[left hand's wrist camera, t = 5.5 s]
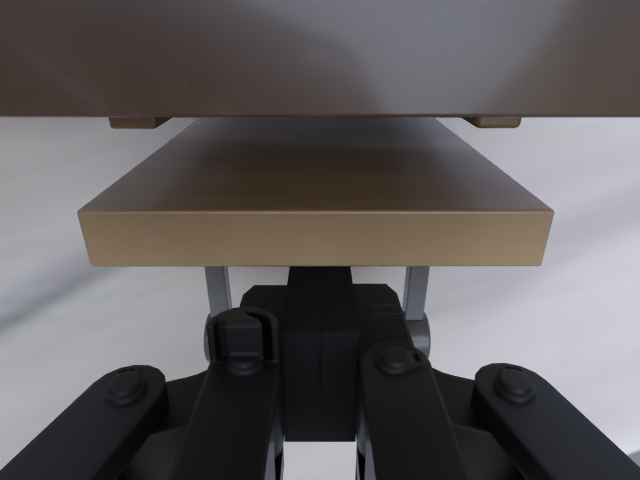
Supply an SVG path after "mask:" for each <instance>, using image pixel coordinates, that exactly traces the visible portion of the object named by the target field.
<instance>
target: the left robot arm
mask: <svg viewBox="0 0 640 480" xmlns="http://www.w3.org/2000/svg"><path fill="white" fill-rule="evenodd" d="M206 329H207V338H208V347H209V356H210V364H209V367H208V370H206V371H204V372H201V373H199V374H197V375H193V376H190V377H187V378H182V379H178V380H173V381H168V382H166V380H165V376H164V374H163V373H162V372H161V371H160V370H159V369H157V368H154V367H151V366H149V365H133V366H128V367H123V368H119V369H117V370H115V371H112V372H110V373H108V374H105V375H104V376H103V377H101V378H100V379H98V380H97V381H96V382H94V383H93V384H92V385H91V386H90V387H89V388H88V389H87V390H86V391H85V392H83V393H82V394H81V395H80V396H79V397H78V398H77V399H76V400H75V401H74V402H73V403H72V404H71V405H70V406H69V407H67V408H66V409H65V410H64V411H63V412H62V413H61V414H60V415H59V416H58V417H57V418H56V419H55V420H54V421H53V422H51V423H50V424H49V425H48V426H47V427H46V428H45V429H44V430H43V431H42V432H41V433H40V434H39V435H38V436H37V437H35V438H34V439H33V440H32V441H31V442H30V443H29V444H28V445H27V446H26V447H25V448H24V449H23V450H22V451H21V452H19V453H18V454H17V455H16V456H15V457H14V458H13V459H12V460H11V461H10V462H9V463H8V464H7V465H6V466H5V467H4V468H2V469H1V470H0V480H283V469H284V453H283V442H284V440H285V442H355V440H356V439H357V453H356V477H355V480H640V467H639V466H638V465H637V464H636V463H634V462H633V461H632V460H631V459H630V458H629V457H628V456H627V455H626V454H625V453H624V452H623V451H622V450H620V449H619V448H618V447H617V446H616V445H615V444H614V443H613V442H612V441H611V440H610V439H609V438H608V437H606V436H605V435H604V434H603V433H602V432H601V431H600V430H599V429H598V428H597V427H596V426H595V425H594V424H593V423H591V422H590V421H589V420H588V419H587V418H586V417H585V416H584V415H583V414H582V413H581V412H580V411H579V410H577V409H576V408H575V407H574V406H573V405H572V404H571V403H570V402H569V401H568V400H567V399H566V398H565V397H563V396H562V395H561V394H560V393H559V392H558V391H557V390H556V389H555V388H554V387H553V386H552V385H551V384H550V383H548V382H547V381H546V380H545V379H543V378H542V377H541V376H539V375H538V374H536V373H535V372H533V371H530V370H528V369H526V368H523V367H521V366H517V365H512V364H507V363H492V364H489V365H486V366H483V367H481V368H480V370H479V371H478V372H477V373H476V374H475V380H471V379H466V378H462V377H457V376H453V375H449V374H446V373H443V372H440V371H438V370H436V369H434V368H432V366H431V364H430V361H429V360H428V358H427V357H426V355H425V354H424V353H423V352H421V351H420V350H418V349H417V348H416V347H415V346H414V343H413V340H412V337H411V334H410V332H409V329H408V326H407V323H406V320H405V317H404V316H403V311H402V308H401V306H400V302H399V299H398V296H397V293H396V292H395V291H393V290H392V289H391V288H390V287H389V286H388V285H387V284H353V283H352V276H351V269H350V266H290V269H289V276H288V283H287V285H254V286H253V287H252V288H251V289H249V290H248V291H247V292H246V293H245V294H244V295H243V297H242V300H241V303H240V307H238V308H232V309H229V310H226V311H223V312H221V313H219V314H217V315H216V316H214V317H212V318H211V320H210V321H209V322H208V323H207V325H206Z"/></svg>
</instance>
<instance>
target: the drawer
mask: <svg viewBox="0 0 640 480" xmlns="http://www.w3.org/2000/svg"><path fill="white" fill-rule="evenodd" d="M171 118H173V117H109V121H110V126H111V128H114V129H154V128H156V127H158V126H159V125H161V124H163V123H164V122H166V121H168V120H169V119H171ZM461 118H463V119H464V120H466V121H468V122H469V123H471V124H472V125H474V126H476V127H478V128H516V127H519V125H520V122H521V117H461ZM77 214H78V218H79V222H80V226H81V229H82V233H83V237H84V241H85V244H86V248H87V252H88V256H89V260H90V263H91V265H92V266H205V274H206V282H207V289H208V297H209V304H210V313H209V315H208V317H207V320H206V324H205V331H204V352H205V357H206V360H207V361H208V362H210V356H209V347H208V338H207V329H206V325H207V323H208V322H209V321H210V320H211V318H212V317H214V316H216V315H217V314H219V313H221V312H223V311H226V310H229V309H232V303H231V293H230V284H229V275H228V266H407V267H406V277H405V287H404V297H403V307H402V311H403V316H404V317H405V320H406V323H407V326H408V329H409V332H410V334H411V337H412V340H413V343H414V346H415V347H416V348H417V349H418V350H420V351H421V352H423V353H424V354H425V355H426V357H427V358H429V354H430V328H429V322H428V319H427V316H426V314H425V312H424V307H425V299H426V291H427V283H428V275H429V267H430V266H540V265H541V263H542V259H543V255H544V251H545V247H546V243H547V239H548V235H549V231H550V227H551V223H552V220H553V216H554V211H553V210H552V209H551V208H550V207H549V206H547V205H546V204H545V203H543V202H542V201H541V200H540V199H538V198H537V197H536V196H534V195H533V194H532V193H531V192H529V191H528V190H527V189H525V188H524V187H523V186H521V185H520V184H519V183H518V182H516V181H515V180H514V179H512V178H511V177H510V176H509V175H507V174H506V173H505V172H503V171H502V170H501V169H500V168H498V167H497V166H496V165H494V164H493V163H492V162H491V161H489V160H488V159H487V158H485V157H484V156H483V155H481V154H480V153H479V152H478V151H476V150H475V149H474V148H472V147H471V146H470V145H469V144H467V143H466V142H465V141H463V140H462V139H461V138H460V137H458V136H457V135H456V134H454V133H453V132H452V131H451V130H449V129H448V128H447V127H445V126H444V125H443V124H442V123H440V122H439V121H438V120H436V119H435V118H434V117H201V118H199V119H198V120H197V121H195V122H194V123H193V124H191V125H190V126H189V127H187V128H186V129H185V130H183V131H182V132H181V133H180V134H178V135H177V136H176V137H174V138H173V139H172V140H170V141H169V142H168V143H166V144H165V145H164V146H162V147H161V148H160V149H158V150H157V151H156V152H154V153H153V154H152V155H151V156H149V157H148V158H147V159H145V160H144V161H143V162H141V163H140V164H139V165H137V166H136V167H135V168H133V169H132V170H131V171H129V172H128V173H127V174H126V175H124V176H123V177H122V178H120V179H119V180H118V181H116V182H115V183H114V184H112V185H111V186H110V187H108V188H107V189H106V190H104V191H103V192H102V193H100V194H99V195H98V196H97V197H95V198H94V199H93V200H91V201H90V202H89V203H87V204H86V205H85V206H83V207H82V208H81V209H79V210H78V213H77Z"/></svg>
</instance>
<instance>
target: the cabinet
mask: <svg viewBox="0 0 640 480" xmlns="http://www.w3.org/2000/svg"><path fill="white" fill-rule="evenodd" d="M0 117H640V0H0Z"/></svg>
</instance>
